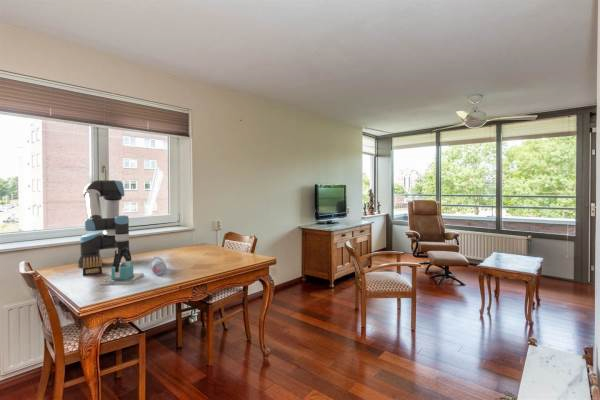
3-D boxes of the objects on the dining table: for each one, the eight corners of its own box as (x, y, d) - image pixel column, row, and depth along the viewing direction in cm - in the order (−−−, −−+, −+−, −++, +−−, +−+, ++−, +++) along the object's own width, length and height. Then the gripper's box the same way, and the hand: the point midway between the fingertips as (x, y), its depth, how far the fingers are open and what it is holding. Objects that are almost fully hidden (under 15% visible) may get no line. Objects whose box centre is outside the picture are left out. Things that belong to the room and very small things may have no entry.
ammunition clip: (102, 273, 208) (101, 255, 208) (102, 273, 207) (101, 256, 206) (82, 275, 202) (82, 257, 202) (82, 276, 201) (82, 257, 200)
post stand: (114, 276, 201) (114, 260, 201) (143, 275, 204) (143, 259, 203) (99, 284, 184) (99, 267, 183) (131, 283, 186) (131, 266, 185)
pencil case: (149, 269, 218) (149, 256, 218) (163, 267, 223) (163, 254, 222) (152, 277, 200) (152, 262, 200) (167, 275, 205) (166, 261, 204)
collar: (118, 275, 197) (118, 264, 197) (133, 274, 198) (133, 264, 198) (111, 279, 189) (111, 268, 188) (127, 279, 190) (126, 267, 189)
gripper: (119, 244, 181) (119, 279, 182) (136, 237, 205) (137, 268, 206) (105, 244, 180) (106, 280, 181) (124, 237, 204) (125, 268, 205)
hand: (122, 274), depth 193 cm, fingers open, 13 cm apart
